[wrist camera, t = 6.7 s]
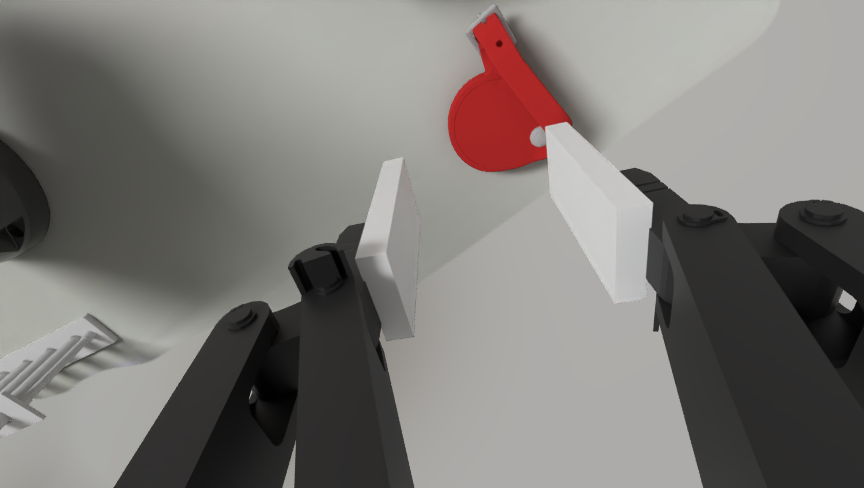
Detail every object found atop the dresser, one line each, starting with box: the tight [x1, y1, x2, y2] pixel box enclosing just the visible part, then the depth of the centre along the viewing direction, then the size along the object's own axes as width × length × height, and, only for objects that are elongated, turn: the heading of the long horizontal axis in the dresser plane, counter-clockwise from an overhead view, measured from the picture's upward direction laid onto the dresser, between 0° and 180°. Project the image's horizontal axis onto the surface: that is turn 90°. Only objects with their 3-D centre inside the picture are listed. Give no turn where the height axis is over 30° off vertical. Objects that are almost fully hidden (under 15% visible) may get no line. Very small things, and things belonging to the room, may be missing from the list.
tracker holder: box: [448, 3, 572, 172], centre depth 32 cm, size 12×4×10 cm
